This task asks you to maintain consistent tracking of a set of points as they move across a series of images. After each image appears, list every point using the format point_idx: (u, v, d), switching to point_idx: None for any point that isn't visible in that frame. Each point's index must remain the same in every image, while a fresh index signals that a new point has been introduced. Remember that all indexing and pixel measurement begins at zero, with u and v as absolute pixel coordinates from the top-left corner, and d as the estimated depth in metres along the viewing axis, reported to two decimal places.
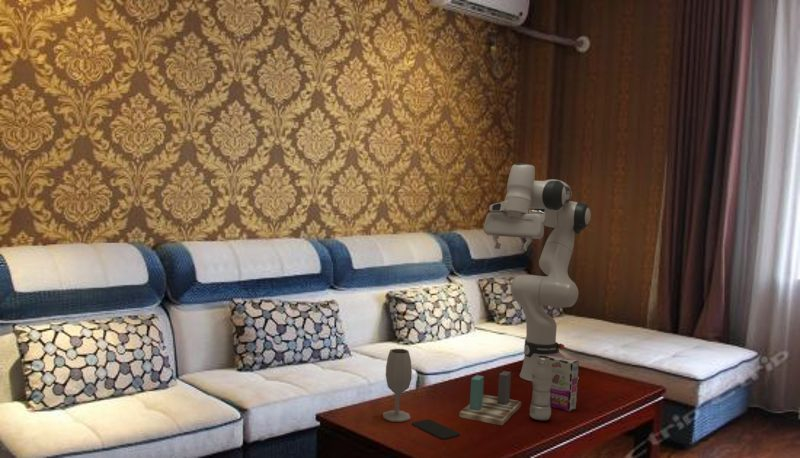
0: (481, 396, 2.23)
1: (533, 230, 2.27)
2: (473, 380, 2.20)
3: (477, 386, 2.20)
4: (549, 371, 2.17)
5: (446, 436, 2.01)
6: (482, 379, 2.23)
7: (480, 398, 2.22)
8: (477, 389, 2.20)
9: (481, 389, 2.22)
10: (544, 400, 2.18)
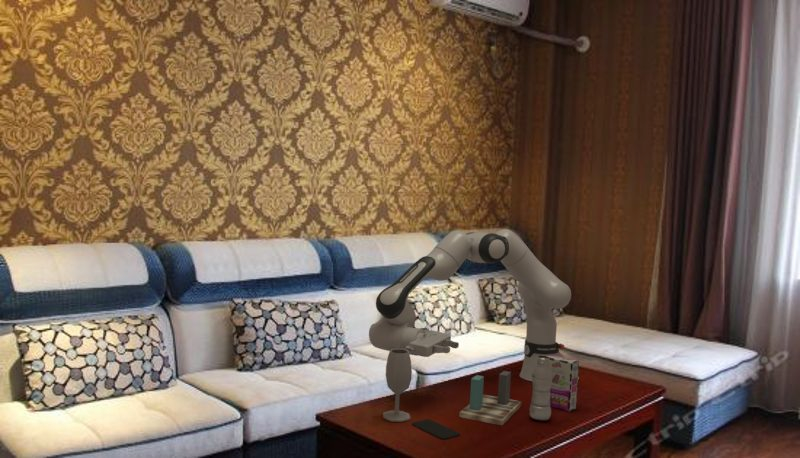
0: (481, 396, 2.23)
1: None
2: (473, 380, 2.20)
3: (477, 386, 2.20)
4: (549, 371, 2.17)
5: (446, 436, 2.01)
6: (482, 379, 2.23)
7: (480, 398, 2.22)
8: (477, 389, 2.20)
9: (481, 389, 2.22)
10: (544, 400, 2.18)
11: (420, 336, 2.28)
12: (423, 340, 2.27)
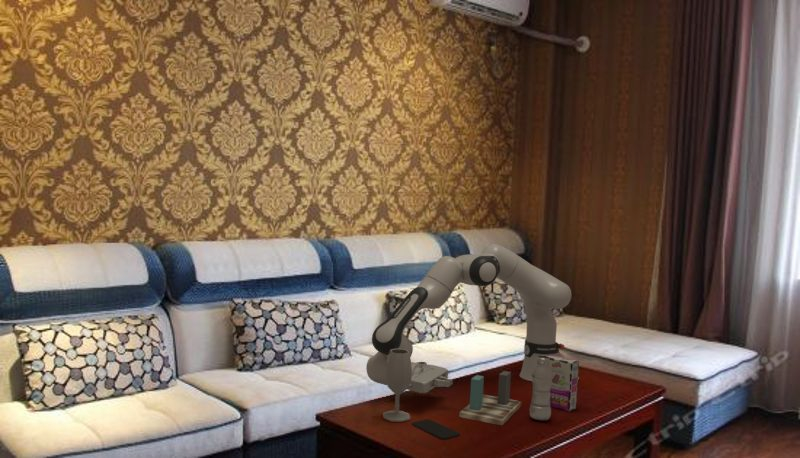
0: (481, 396, 2.23)
1: None
2: (473, 380, 2.20)
3: (477, 386, 2.20)
4: (549, 371, 2.17)
5: (446, 436, 2.01)
6: (482, 379, 2.23)
7: (480, 398, 2.22)
8: (477, 389, 2.20)
9: (481, 389, 2.22)
10: (544, 400, 2.18)
11: (417, 371, 2.29)
12: (420, 375, 2.27)
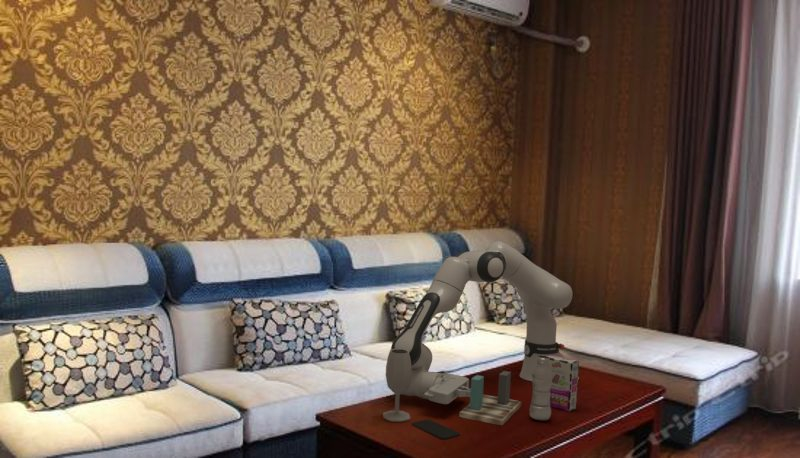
0: (481, 396, 2.23)
1: None
2: (473, 380, 2.20)
3: (477, 386, 2.20)
4: (549, 371, 2.17)
5: (446, 436, 2.01)
6: (482, 379, 2.23)
7: (480, 398, 2.22)
8: (477, 389, 2.20)
9: (481, 389, 2.22)
10: (544, 400, 2.18)
11: (439, 381, 2.26)
12: (442, 385, 2.25)
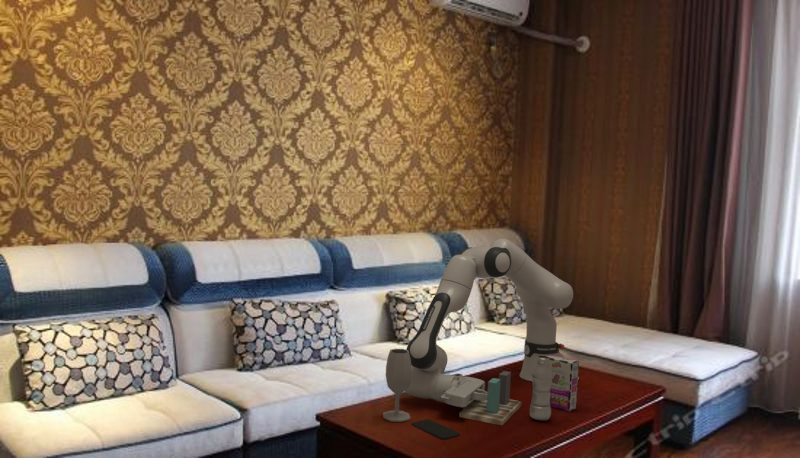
0: (498, 399, 2.21)
1: None
2: (490, 383, 2.18)
3: (494, 389, 2.17)
4: (549, 371, 2.17)
5: (446, 436, 2.01)
6: (499, 382, 2.20)
7: (497, 401, 2.20)
8: (494, 392, 2.17)
9: (498, 392, 2.20)
10: (544, 400, 2.18)
11: (455, 384, 2.24)
12: (458, 388, 2.22)
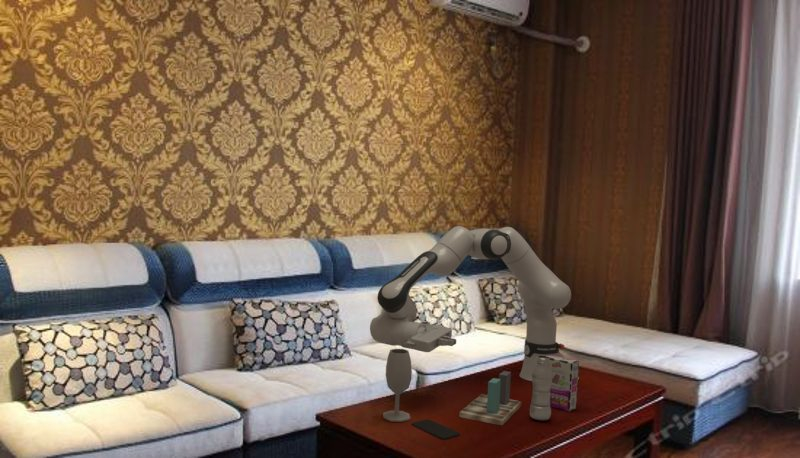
0: (498, 399, 2.21)
1: None
2: (490, 383, 2.18)
3: (494, 389, 2.17)
4: (549, 371, 2.17)
5: (446, 436, 2.01)
6: (499, 382, 2.20)
7: (497, 401, 2.20)
8: (494, 392, 2.17)
9: (498, 392, 2.20)
10: (544, 400, 2.18)
11: (421, 331, 2.28)
12: (424, 335, 2.27)
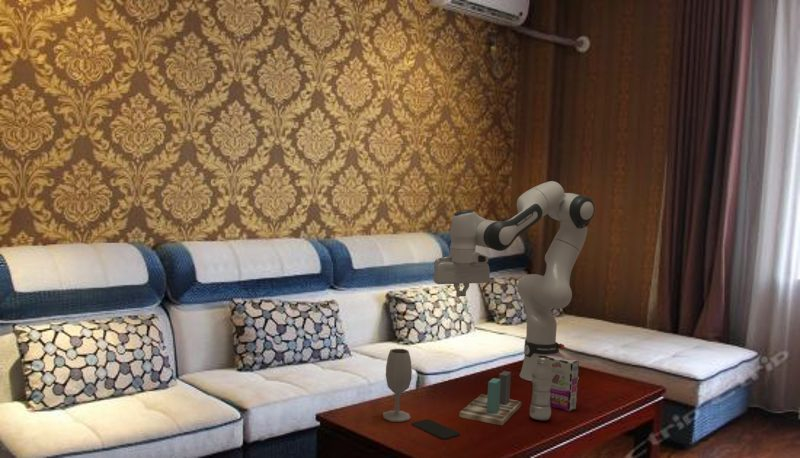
0: (498, 399, 2.21)
1: None
2: (490, 383, 2.18)
3: (494, 389, 2.17)
4: (549, 371, 2.17)
5: (446, 436, 2.01)
6: (499, 382, 2.20)
7: (497, 401, 2.20)
8: (494, 392, 2.17)
9: (498, 392, 2.20)
10: (544, 400, 2.18)
11: (460, 265, 2.40)
12: (456, 269, 2.41)
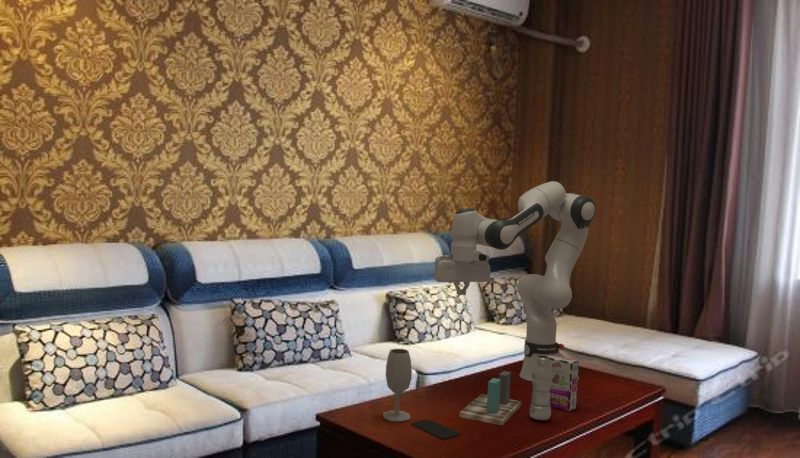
0: (498, 399, 2.21)
1: None
2: (490, 383, 2.18)
3: (494, 389, 2.17)
4: (549, 371, 2.17)
5: (446, 436, 2.01)
6: (499, 382, 2.20)
7: (497, 401, 2.20)
8: (494, 392, 2.17)
9: (498, 392, 2.20)
10: (544, 400, 2.18)
11: (460, 264, 2.40)
12: (457, 268, 2.41)
